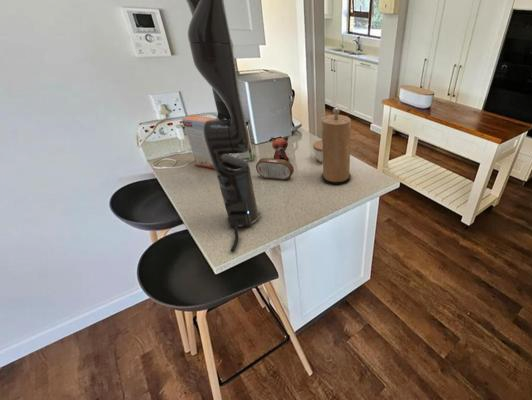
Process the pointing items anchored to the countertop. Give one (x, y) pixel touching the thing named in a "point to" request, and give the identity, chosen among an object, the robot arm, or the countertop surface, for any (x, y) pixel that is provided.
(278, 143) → the stuffed fox
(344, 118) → the paper towel roll
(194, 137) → the cracker box
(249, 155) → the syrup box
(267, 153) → the countertop surface
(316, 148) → the trinket box
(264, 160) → the tin
